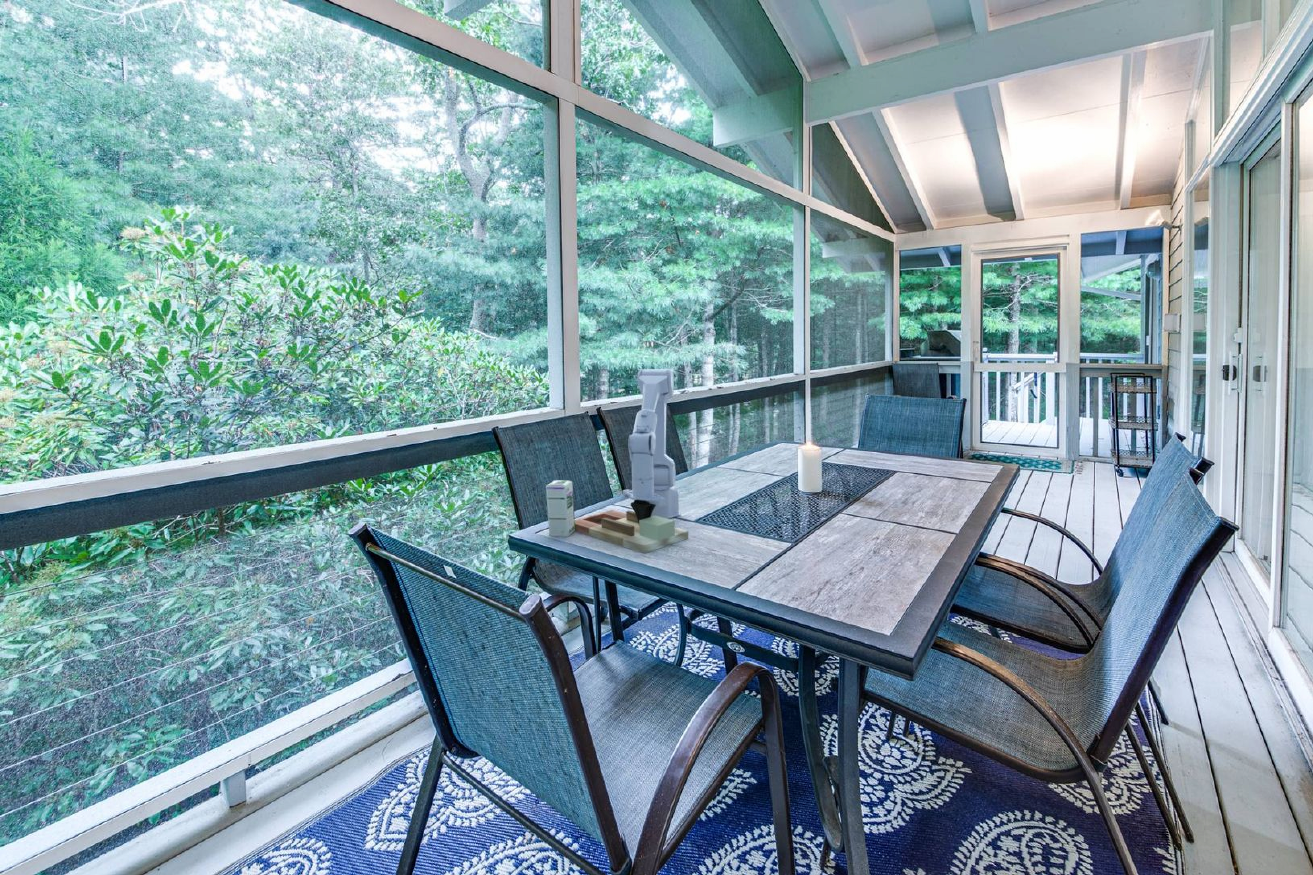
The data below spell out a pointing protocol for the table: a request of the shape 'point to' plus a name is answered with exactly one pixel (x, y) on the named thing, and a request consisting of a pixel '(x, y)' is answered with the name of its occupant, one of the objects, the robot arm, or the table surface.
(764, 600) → the table surface
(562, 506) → the syrup box
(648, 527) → the sage block
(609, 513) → the trap track
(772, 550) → the table surface
